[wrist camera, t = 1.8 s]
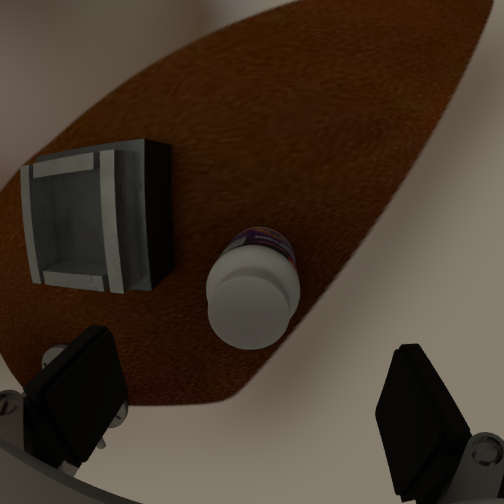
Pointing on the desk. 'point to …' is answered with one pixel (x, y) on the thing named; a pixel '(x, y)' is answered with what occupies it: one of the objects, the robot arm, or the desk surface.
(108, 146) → the grey open box
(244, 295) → the pill bottle
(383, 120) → the desk surface
